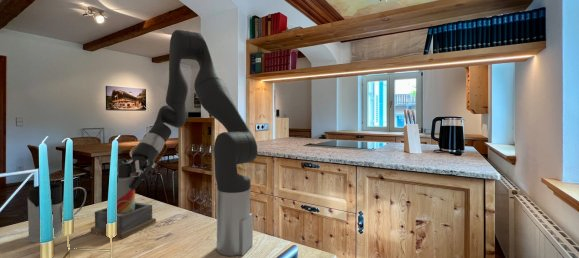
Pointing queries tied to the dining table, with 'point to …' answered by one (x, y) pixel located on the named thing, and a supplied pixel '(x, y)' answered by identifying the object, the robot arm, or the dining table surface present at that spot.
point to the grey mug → (56, 209)
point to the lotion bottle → (125, 190)
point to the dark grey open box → (125, 221)
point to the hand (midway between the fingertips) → (121, 187)
